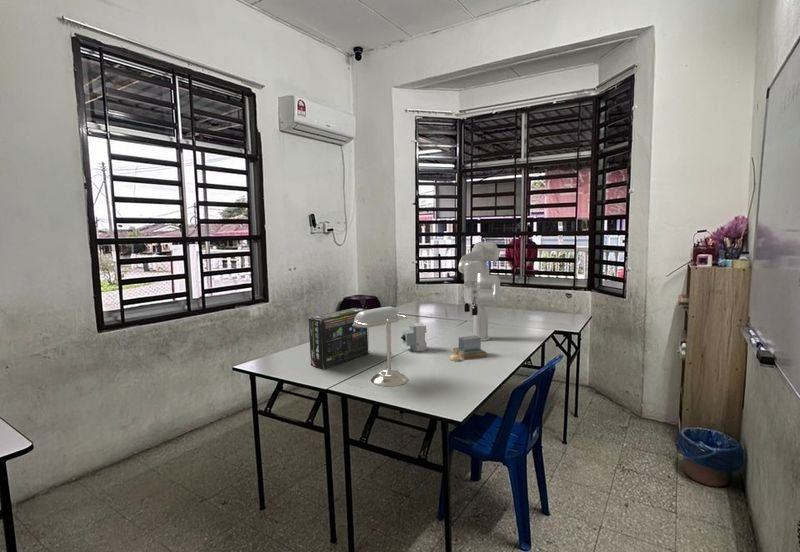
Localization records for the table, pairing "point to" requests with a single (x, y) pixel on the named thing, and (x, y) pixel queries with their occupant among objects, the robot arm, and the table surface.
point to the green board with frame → (469, 353)
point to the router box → (336, 338)
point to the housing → (469, 343)
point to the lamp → (386, 317)
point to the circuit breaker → (415, 337)
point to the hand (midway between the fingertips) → (470, 313)
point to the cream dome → (454, 357)
